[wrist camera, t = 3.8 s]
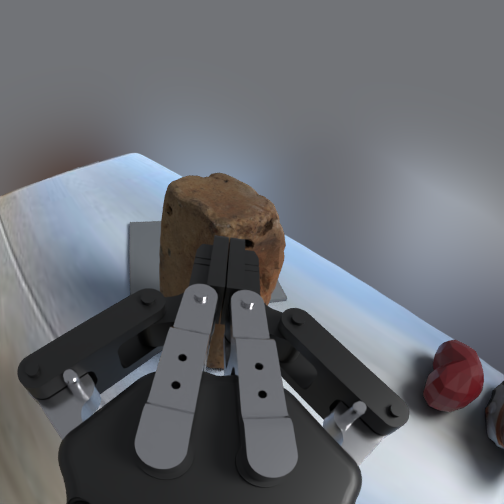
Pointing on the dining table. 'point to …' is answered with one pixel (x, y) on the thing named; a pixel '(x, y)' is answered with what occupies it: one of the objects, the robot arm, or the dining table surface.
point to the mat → (157, 259)
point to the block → (221, 224)
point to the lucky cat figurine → (496, 416)
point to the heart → (454, 377)
